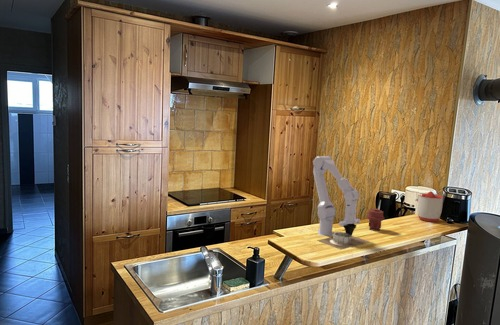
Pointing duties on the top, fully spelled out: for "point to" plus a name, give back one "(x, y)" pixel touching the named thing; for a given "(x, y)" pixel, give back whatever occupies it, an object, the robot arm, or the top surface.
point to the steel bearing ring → (341, 238)
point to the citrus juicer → (429, 207)
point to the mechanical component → (375, 219)
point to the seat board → (354, 242)
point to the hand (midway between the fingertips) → (348, 237)
